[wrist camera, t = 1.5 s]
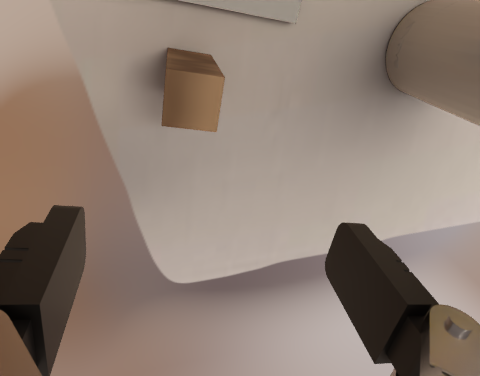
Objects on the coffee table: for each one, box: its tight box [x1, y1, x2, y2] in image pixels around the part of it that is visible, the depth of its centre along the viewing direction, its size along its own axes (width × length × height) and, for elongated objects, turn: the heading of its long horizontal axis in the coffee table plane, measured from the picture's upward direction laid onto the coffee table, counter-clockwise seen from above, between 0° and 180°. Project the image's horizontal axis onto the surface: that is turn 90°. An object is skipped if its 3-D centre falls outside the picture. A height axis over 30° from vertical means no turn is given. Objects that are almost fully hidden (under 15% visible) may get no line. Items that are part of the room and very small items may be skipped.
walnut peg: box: [162, 48, 225, 132], centre depth 29 cm, size 4×4×10 cm
